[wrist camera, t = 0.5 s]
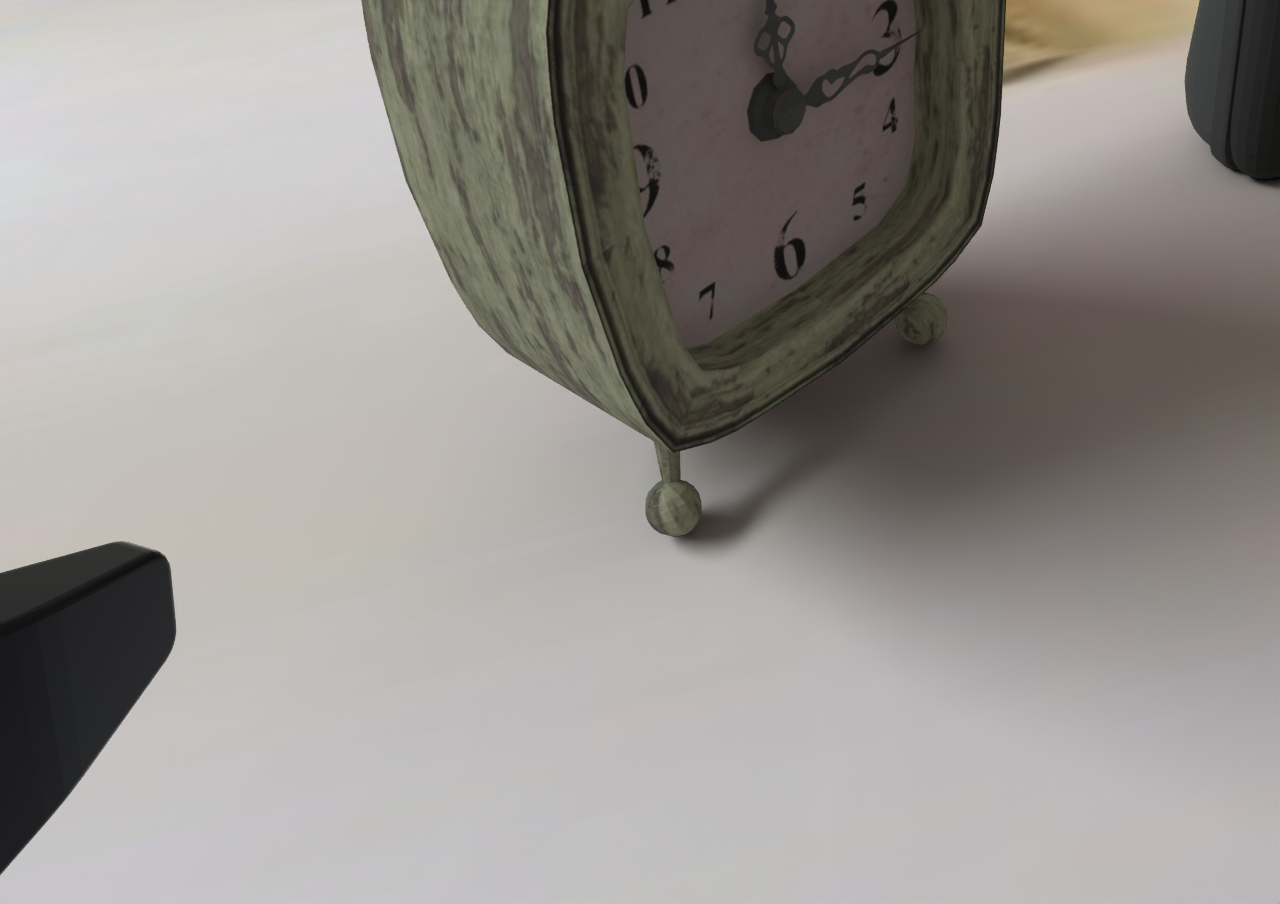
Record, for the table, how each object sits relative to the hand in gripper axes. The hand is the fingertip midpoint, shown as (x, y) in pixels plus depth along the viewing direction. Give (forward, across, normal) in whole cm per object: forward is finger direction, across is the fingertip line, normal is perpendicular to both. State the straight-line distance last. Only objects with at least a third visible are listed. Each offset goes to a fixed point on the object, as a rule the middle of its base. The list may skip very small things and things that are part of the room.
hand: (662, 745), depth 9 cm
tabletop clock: (+27, +4, +10) cm, 29 cm away
